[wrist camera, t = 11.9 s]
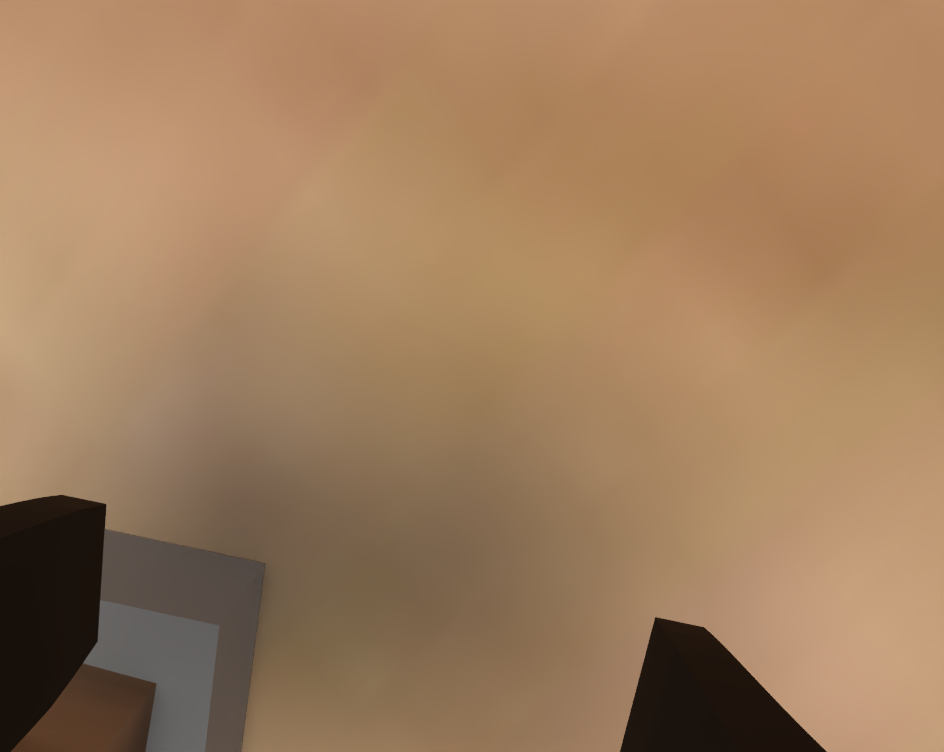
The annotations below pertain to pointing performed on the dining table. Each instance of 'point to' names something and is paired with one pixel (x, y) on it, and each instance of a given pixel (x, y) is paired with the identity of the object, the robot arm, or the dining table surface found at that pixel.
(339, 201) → the dining table surface
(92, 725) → the walnut block
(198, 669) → the pedestal block
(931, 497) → the dining table surface
